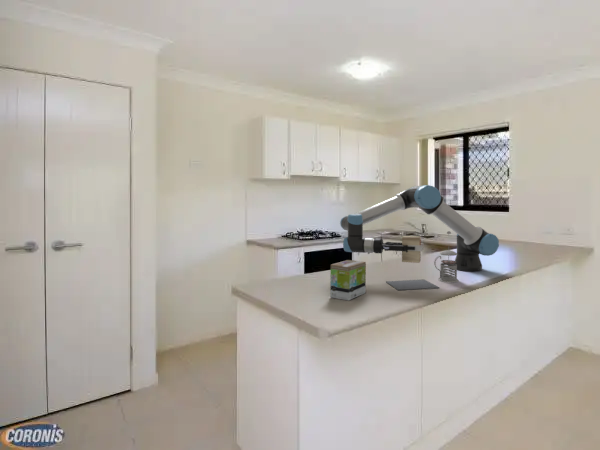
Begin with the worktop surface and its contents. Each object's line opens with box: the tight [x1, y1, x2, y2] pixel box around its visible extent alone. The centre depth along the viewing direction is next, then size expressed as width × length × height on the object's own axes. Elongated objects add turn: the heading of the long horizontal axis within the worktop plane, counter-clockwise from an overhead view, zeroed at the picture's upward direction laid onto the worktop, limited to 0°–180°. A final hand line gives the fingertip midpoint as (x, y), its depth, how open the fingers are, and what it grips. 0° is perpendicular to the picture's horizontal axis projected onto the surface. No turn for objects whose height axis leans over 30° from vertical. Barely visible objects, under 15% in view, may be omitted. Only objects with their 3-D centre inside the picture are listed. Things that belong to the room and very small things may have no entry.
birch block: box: [401, 235, 422, 264], centre depth 174 cm, size 5×8×12 cm, turn 66°
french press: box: [433, 231, 460, 284], centre depth 183 cm, size 10×12×25 cm
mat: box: [385, 278, 440, 291], centre depth 176 cm, size 20×16×1 cm
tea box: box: [329, 259, 367, 301], centre depth 161 cm, size 15×10×15 cm, turn 143°
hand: (422, 247), depth 172 cm, fingers closed on birch block, 5 cm apart
